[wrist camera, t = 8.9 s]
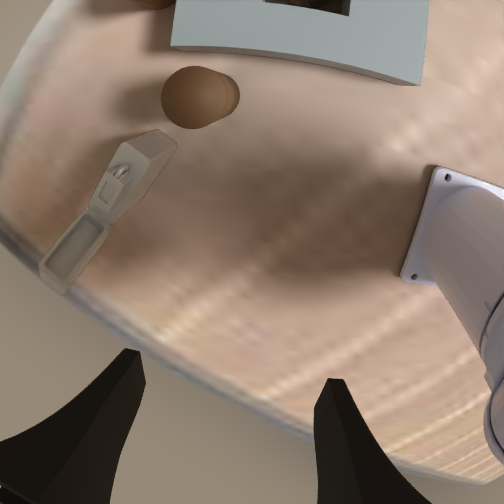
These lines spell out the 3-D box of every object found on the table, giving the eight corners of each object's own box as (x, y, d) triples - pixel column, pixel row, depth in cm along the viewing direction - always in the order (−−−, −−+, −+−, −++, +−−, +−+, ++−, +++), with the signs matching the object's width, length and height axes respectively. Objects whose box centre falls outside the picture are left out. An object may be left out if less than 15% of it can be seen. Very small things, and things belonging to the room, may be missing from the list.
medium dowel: (242, 75, 15) (229, 67, 10) (236, 120, 16) (221, 131, 12) (194, 72, 15) (164, 65, 11) (190, 116, 16) (159, 127, 12)
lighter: (156, 127, 17) (78, 158, 9) (179, 144, 17) (114, 185, 10) (102, 216, 19) (31, 282, 12) (121, 231, 20) (57, 303, 13)
